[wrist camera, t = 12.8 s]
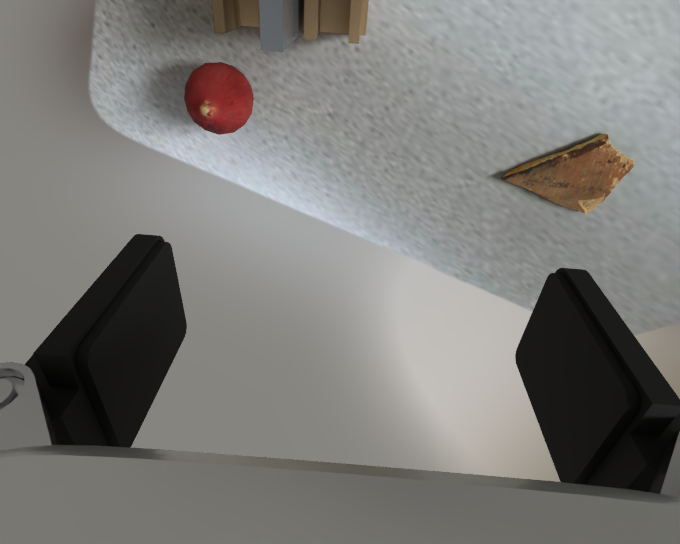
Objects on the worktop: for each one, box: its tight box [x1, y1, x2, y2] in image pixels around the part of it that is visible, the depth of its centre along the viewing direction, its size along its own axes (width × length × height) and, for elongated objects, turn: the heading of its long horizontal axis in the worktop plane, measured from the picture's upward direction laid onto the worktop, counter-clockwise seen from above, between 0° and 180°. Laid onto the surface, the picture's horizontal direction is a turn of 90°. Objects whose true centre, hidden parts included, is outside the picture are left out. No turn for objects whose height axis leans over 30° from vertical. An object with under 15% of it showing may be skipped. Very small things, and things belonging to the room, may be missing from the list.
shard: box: [501, 134, 635, 213], centre depth 43 cm, size 11×8×2 cm
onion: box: [184, 62, 254, 134], centre depth 38 cm, size 6×6×8 cm
